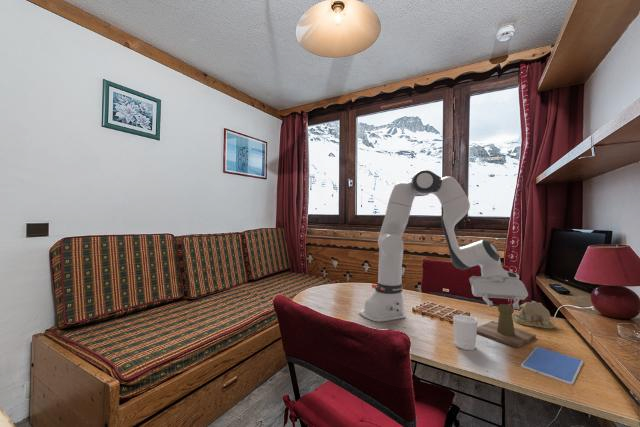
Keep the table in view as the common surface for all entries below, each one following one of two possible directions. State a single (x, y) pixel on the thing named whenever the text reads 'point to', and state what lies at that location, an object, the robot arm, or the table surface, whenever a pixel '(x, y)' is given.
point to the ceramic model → (533, 315)
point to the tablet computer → (553, 365)
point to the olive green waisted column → (505, 320)
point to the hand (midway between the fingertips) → (503, 307)
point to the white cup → (465, 331)
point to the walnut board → (514, 341)
